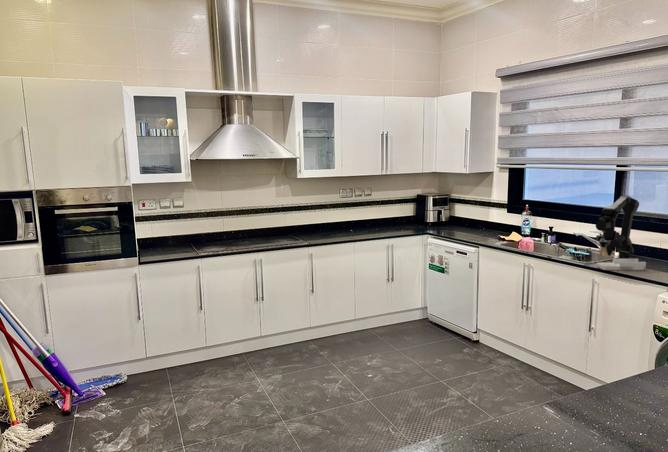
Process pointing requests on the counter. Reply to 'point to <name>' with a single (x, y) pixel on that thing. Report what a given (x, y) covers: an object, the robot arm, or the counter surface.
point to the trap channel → (623, 265)
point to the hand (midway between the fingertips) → (607, 254)
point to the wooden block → (605, 252)
